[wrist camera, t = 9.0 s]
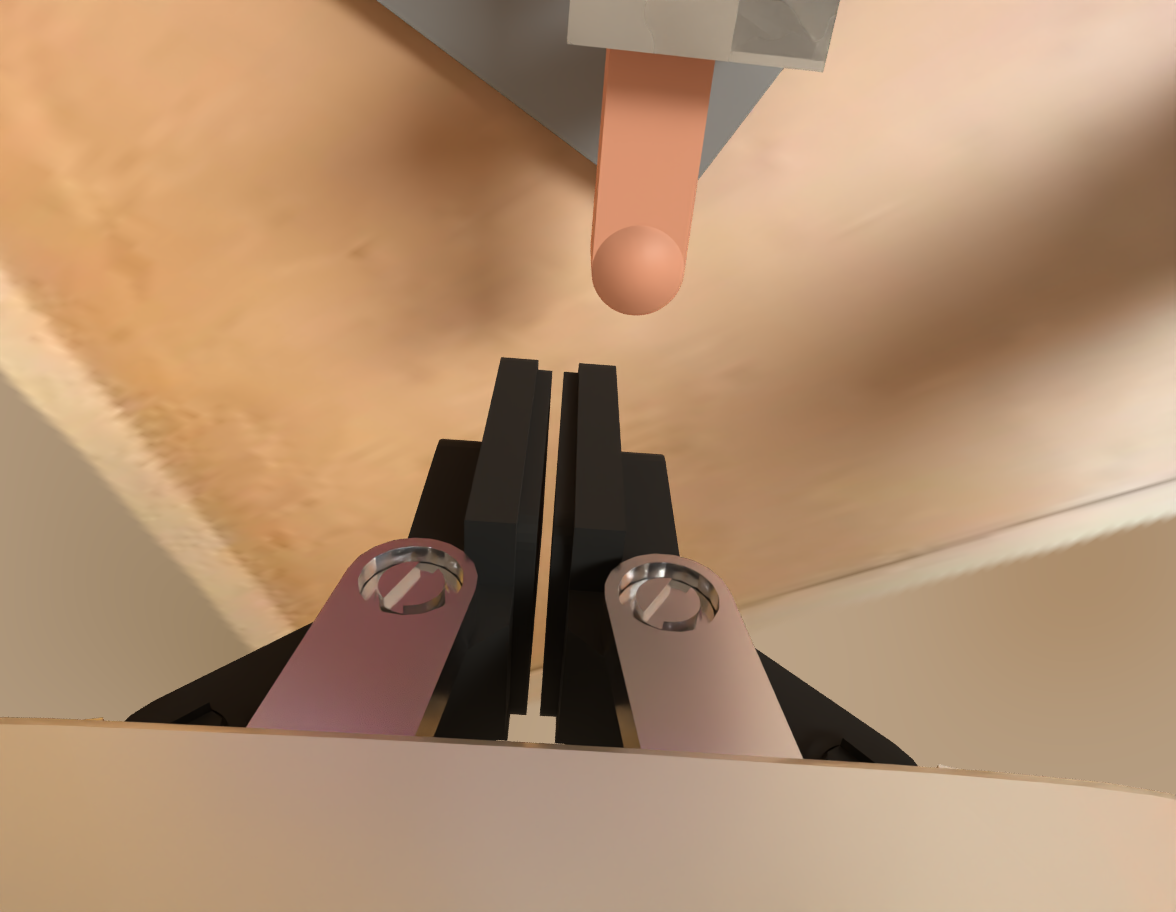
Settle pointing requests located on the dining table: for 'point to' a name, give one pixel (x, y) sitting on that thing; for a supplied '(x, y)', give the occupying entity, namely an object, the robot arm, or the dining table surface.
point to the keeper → (710, 29)
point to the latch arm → (647, 176)
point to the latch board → (562, 67)
